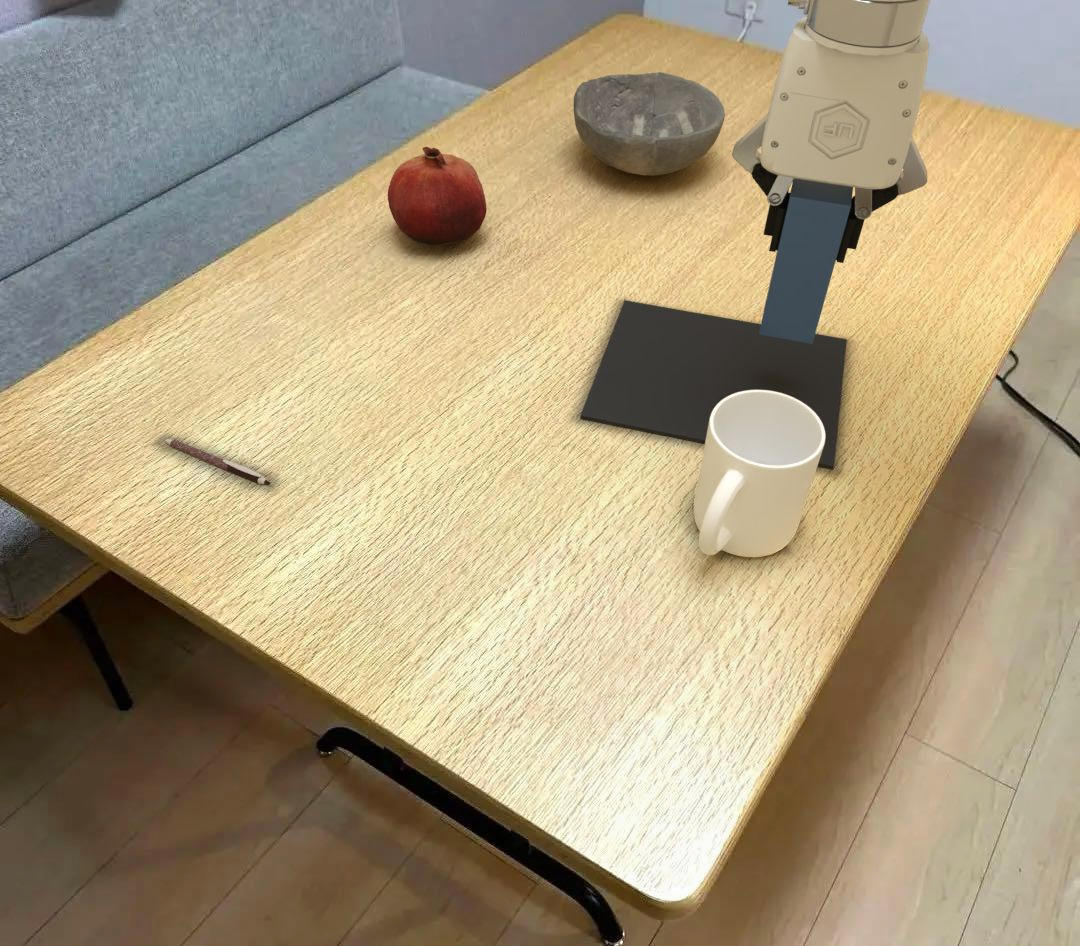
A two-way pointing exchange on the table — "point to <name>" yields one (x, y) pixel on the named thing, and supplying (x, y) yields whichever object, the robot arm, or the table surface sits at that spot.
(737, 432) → the mug
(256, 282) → the table surface
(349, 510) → the table surface
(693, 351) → the mat
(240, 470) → the pen
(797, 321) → the block
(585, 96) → the bowl
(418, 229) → the fruit
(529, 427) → the table surface
